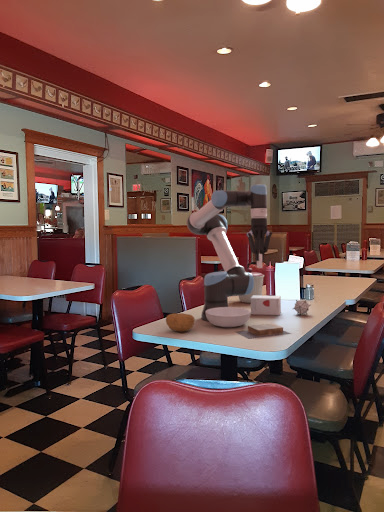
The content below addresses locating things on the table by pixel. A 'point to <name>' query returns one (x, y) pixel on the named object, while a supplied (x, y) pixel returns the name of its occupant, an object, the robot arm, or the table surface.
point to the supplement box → (265, 305)
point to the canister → (257, 286)
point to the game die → (301, 307)
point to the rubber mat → (251, 335)
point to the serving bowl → (227, 316)
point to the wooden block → (265, 329)
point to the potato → (180, 321)
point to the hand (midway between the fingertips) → (259, 267)
